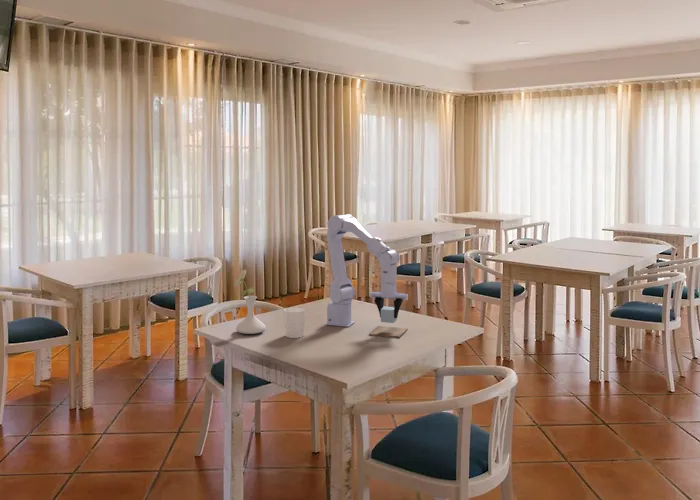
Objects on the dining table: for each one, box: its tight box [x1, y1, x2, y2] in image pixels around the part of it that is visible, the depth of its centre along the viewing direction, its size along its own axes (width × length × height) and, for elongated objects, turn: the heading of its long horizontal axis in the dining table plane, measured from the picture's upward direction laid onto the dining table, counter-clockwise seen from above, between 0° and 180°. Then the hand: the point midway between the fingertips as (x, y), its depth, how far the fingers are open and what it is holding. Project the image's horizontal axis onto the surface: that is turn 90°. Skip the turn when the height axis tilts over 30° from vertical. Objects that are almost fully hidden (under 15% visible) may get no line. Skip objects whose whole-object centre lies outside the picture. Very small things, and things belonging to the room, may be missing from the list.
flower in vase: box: [233, 269, 267, 335], centre depth 240 cm, size 13×11×25 cm
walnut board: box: [368, 325, 409, 339], centre depth 242 cm, size 12×12×1 cm
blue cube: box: [380, 305, 398, 324], centre depth 241 cm, size 5×5×5 cm
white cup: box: [283, 307, 306, 339], centre depth 237 cm, size 8×8×10 cm
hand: (388, 317), depth 241 cm, fingers closed on blue cube, 5 cm apart
